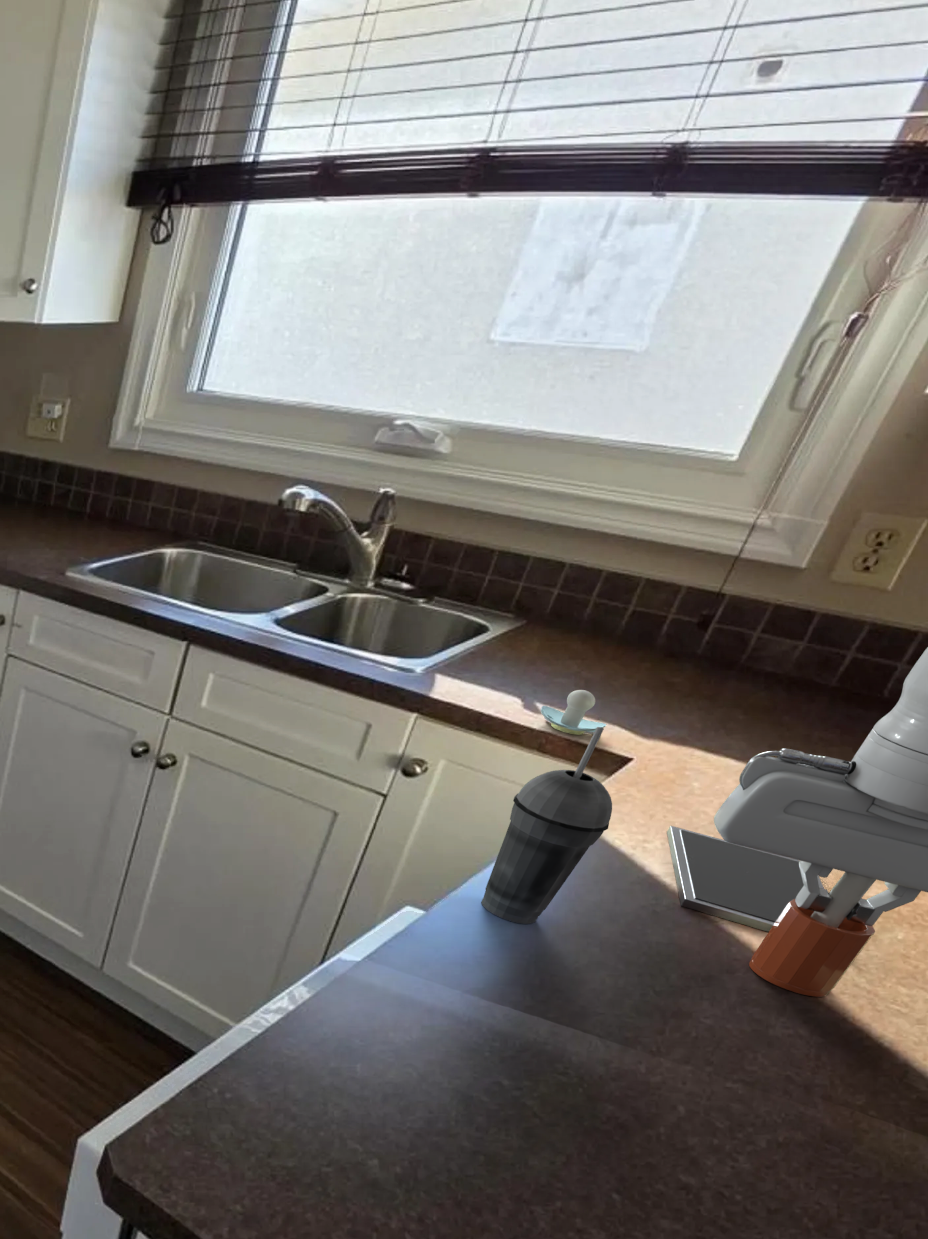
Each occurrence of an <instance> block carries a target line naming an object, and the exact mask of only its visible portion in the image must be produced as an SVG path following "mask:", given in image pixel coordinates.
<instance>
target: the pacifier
mask: <svg viewBox="0 0 928 1239" xmlns="http://www.w3.org/2000/svg"><path fill="white" fill-rule="evenodd" d="M566 704H567V707H566V708H565V710H564V712H563V711H561V710H560V709H556V708H554V707H551V706H548V705H542V706H541V708H540V713H541V715H542V716H543V719H544V720H545V721H546V722H548V723H550V726H551V727H552V728H553V729H555V730H557V731H560V732H563V733H567V734H570V735H577V736H581V735H584V734H585V735H586V734H587V735H593V734H594V732H595V730H596V728H597V727H602V728H604V729H605V728H606V727H607V723H604V722H601V721H594V720H589V719H584V718H585V715H586V713H587V711H589V710H591V709H592V708H593V707H594V706H595V704H596V698H595V696H594V694H593V693H592V692H590V691H588V690H584V689H576V690H574V691H572V692H570V693H569V694H568V696H567V698H566Z"/></svg>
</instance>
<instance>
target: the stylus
mask: <svg viewBox="0 0 928 1239" xmlns="http://www.w3.org/2000/svg"><path fill="white" fill-rule="evenodd" d="M876 881H877V880H876V879H872V878H868V877H864V876H860V875H856V874H852V873H848V872H844V873H843V874H842V875H841V877H839V879H838V881H837V882H836V883H835V884H834V886H833V887H832V888H831V890H830V891H828V892H829V895H831V897H832V898H833V899H832V900H831V901H830V903H829V904H828V905H826V906H825V910H824V911H823V912H822V913H820V912H816V911H814V913H813V914H812V915H811V916H810V917H811V918H813V919H815V920H817V921H819V922H822V923H824V924H827V925H829V926H833V927H836V928H838V926H839V925H840V924H841V923H842V921H843V920H844V919H845V918H846V916H847V915H848V914H849V913H850V912H851V910H852V909H853V908H854V907H855V905H856V904H857V903H858V902H859V900H860V899H861V898H862V899H863V897H864V896H865V894H866V893H867V892H868V891H869V890H870V889H871V887H872V886H873V885H874V883H875V882H876Z"/></svg>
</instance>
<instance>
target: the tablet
mask: <svg viewBox="0 0 928 1239" xmlns="http://www.w3.org/2000/svg"><path fill="white" fill-rule="evenodd" d="M666 835H667V841H668V845H669V851H670V857H671V861H672V867H673V873H674V877H675V882H676V888H677V893H678V898H679V903H680V906H681V907H684V908H687V909H690V910H694V911H697V912H701V913H704V914H707V915H710V916H714V917H717V918H720V919H723V920H727V921H731V922H733V923H737V924H741V925H744V926H746V927H750V928H753V929H756V930H760V931H763V932H765V933H766V932H767V933H768V932H769V931H770V929H771V928H772V927H773V925H774V924H775V922H776V921H777V919H778V918H779V916H780V915H781V913H782V912H783V910H784V909H785V907H786V906H787V904H788V903H789V902H790V901H792V900H793V899H796V896H797V895H798V893H799V892H800V890H801V889H802V887H803V886H804V884H803V880H802V876H801V871H800V867H799V862H800V860H796V859H792V858H788V857H784V856H780V855H776V854H772V853H768V852H764V851H760V850H756V849H752V848H749V847H745V846H741V845H737V844H732V843H729V842H727V841H725V840H724V839H723V838H718V837H714V836H711V835H708V834H703V833H700V832H697V831H693V830H688V829H685V828H681V827H677V826H674V825H669V827H668V829H667V830H666ZM817 879H818V884H819V888H823V889H825V887H824V884H823V882H822V880H821V877H819V875H818V876H817Z"/></svg>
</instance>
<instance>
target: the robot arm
mask: <svg viewBox="0 0 928 1239" xmlns="http://www.w3.org/2000/svg"><path fill="white" fill-rule="evenodd" d="M774 756H775V757H774ZM738 782H739V784H738V785H736V787H735V788H734V789H733V791H732V792H731V793H730V794H729V795H728V796H727V798H725V800H724V801H723V802H722V804H721V805H720V807H719V808H718V809H717V811H716V813H715V814H714V817H713V824H714V826H715V829H716V831H717V833H718V834H719V835H720V836H721V839H722V840H725V841H727V842H729V843H732V844H737V845H741V846H745V847H749V848H752V849H756V850H760V851H764V852H768V853H772V854H776V855H780V856H784V857H788V858H792V859H796V860H800V862H799V867H800V871H801V876H802V880H803V884H804V886H803V887H802V889H801V890H800V892H799V893H798V895H797V896H796V899H795V902H796V904H797V906H798V907H800V908H804V909H808V910H812V911H816V912H820V913H822V912H823V911H824V910H825V906H826V905H828V904H829V903H830V901H831V900H832V899H833V898H832V897H831V895H829V892H830V891H828V889H826V888H824V889H823V888H819V884H818V879H817V876H819V878H824V879H827V878H828V877H829V876H830V874H831V873H832V871H833V870H836V871H839V872H840V871H841V872H844V873H845V872H848V873H852V874H856V875H860V876H864V877H868V878H872V879H876V881H880V882H883V884H884V886H886V888H887V889H885V890H883V891H881V892H879V893H876V894H875V895H873V896H870V897H869V898H866V899H865V898H863V897H862V898H861V899H860V900H859V902H858V903H857V904H856V905H855V907H854V908H853V909H852V910H851V912H850V913H849V914H848V915H847V916H846V917H847V918H846V919H847V920H849V921H853V922H856V923H860V924H864V925H867V926H874V925H875V924H876V922H877V921H878V920H879V919H880V917H881V916H882V914H883V913H886V912H889V911H892V910H894V909H897V908H899V907H902V906H905V905H907V904H910V903H912V902H915V900H916V899H917V897H918V896H919V895H920V894H921V892H924V893H928V646H927V647H926V648H925V650H924V651H923V653H922V654H921V656H919V658H918V660H916V662H915V663H914V665H913V666H912V668H911V669H910V671H909V672H908V674H907V676H906V677H905V679H904V681H903V684H902V690H901V694H900V697H899V699H898V701H897V702H896V704H895V705H894V707H893V708H892V709H891V710H890V711H889V712H888V713H886V714H885V715H884V716H883V717H881V718H880V719H879V720H878V721H877V722H876V723H875V724H874V725H873V728H872V729H871V730H870V732H869V733H868V735H867V736H866V738H865V739H864V741H863V742H862V743H861V745H860V747H858V750H857V751H856V753H855V754H854V755H853V757H852V759H851V760H850V761H849V760H845V759H840V758H834V757H830V756H823V755H815V754H811V753H805V752H804V751H802V750H797V749H792V748H791V749H790V748H781V749H779V750H769V751H764V752H761V753H758V754H755V755H753V756H752V757H751V758H750V759H749V760H748V761H747V763H746V765H745V766H744V767H743V769H742V771H741V773H740V775H739V778H738Z"/></svg>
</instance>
